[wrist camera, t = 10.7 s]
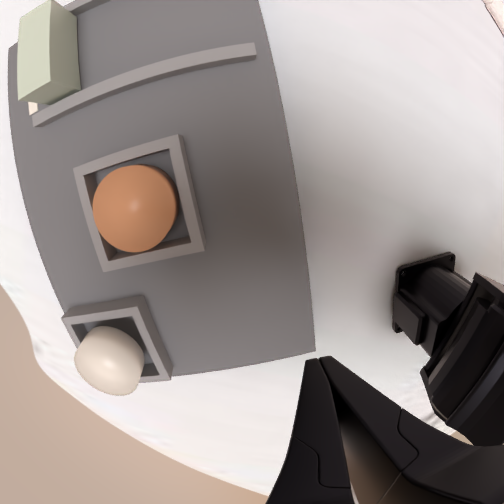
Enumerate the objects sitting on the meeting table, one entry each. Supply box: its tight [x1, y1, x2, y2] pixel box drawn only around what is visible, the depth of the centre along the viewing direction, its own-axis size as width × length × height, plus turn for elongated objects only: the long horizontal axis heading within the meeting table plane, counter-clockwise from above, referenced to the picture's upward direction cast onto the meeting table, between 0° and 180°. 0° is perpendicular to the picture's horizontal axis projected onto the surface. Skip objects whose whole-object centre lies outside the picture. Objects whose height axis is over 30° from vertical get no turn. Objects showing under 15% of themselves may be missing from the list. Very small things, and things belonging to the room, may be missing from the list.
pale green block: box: [17, 0, 81, 105], centre depth 10 cm, size 2×6×4 cm, turn 11°
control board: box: [8, 0, 316, 383], centre depth 16 cm, size 18×28×4 cm, turn 11°
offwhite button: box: [74, 326, 145, 396], centre depth 16 cm, size 5×5×2 cm
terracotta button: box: [93, 164, 180, 252], centre depth 15 cm, size 5×5×2 cm
